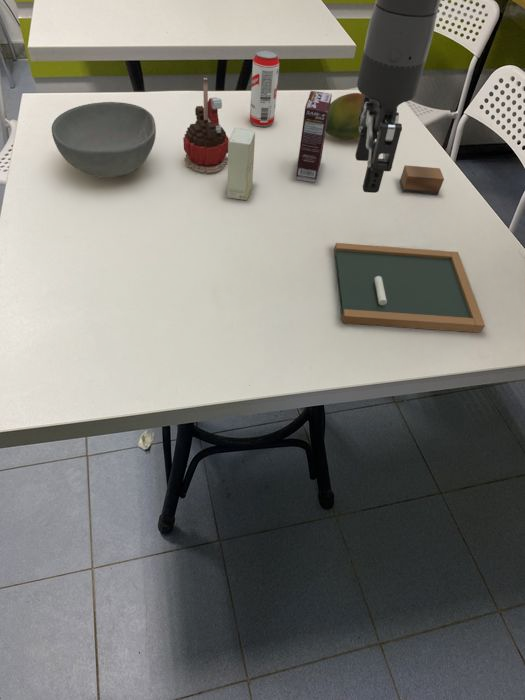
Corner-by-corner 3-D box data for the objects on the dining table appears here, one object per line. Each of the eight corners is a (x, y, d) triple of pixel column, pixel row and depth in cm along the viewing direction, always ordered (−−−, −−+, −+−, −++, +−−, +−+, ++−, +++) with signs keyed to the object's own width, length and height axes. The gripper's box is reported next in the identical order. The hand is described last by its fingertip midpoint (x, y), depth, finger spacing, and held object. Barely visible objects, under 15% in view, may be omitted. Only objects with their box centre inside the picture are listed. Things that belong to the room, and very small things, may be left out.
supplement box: (300, 160, 115) (310, 89, 102) (320, 164, 114) (333, 93, 102) (294, 180, 109) (304, 107, 97) (315, 183, 109) (328, 111, 97)
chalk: (382, 281, 87) (382, 275, 86) (387, 305, 83) (386, 299, 82) (374, 282, 88) (373, 276, 86) (378, 306, 84) (378, 300, 83)
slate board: (454, 259, 95) (458, 251, 94) (480, 332, 83) (485, 325, 82) (334, 250, 94) (335, 242, 93) (342, 323, 82) (344, 315, 80)
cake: (179, 154, 112) (174, 69, 98) (218, 149, 115) (219, 66, 101) (193, 179, 106) (190, 92, 92) (233, 173, 109) (237, 88, 95)
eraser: (433, 184, 112) (439, 168, 109) (437, 195, 110) (444, 179, 106) (399, 181, 112) (404, 165, 109) (402, 192, 109) (408, 176, 106)
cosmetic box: (246, 201, 102) (250, 145, 93) (226, 197, 103) (227, 141, 93) (252, 185, 106) (256, 130, 97) (232, 181, 107) (234, 126, 97)
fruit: (378, 142, 123) (389, 102, 115) (338, 153, 118) (347, 111, 111) (349, 122, 129) (358, 82, 121) (311, 131, 124) (317, 90, 117)
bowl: (57, 149, 110) (45, 103, 102) (149, 140, 115) (144, 96, 107) (67, 200, 98) (55, 152, 90) (168, 187, 103) (165, 141, 96)
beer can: (251, 128, 123) (256, 58, 110) (247, 116, 127) (250, 47, 114) (276, 128, 124) (283, 58, 112) (271, 116, 128) (277, 48, 116)
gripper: (439, 77, 54) (400, 204, 67) (415, 31, 63) (384, 151, 76) (372, 73, 54) (345, 201, 66) (357, 28, 63) (335, 148, 76)
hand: (366, 174), depth 71 cm, fingers open, 8 cm apart
